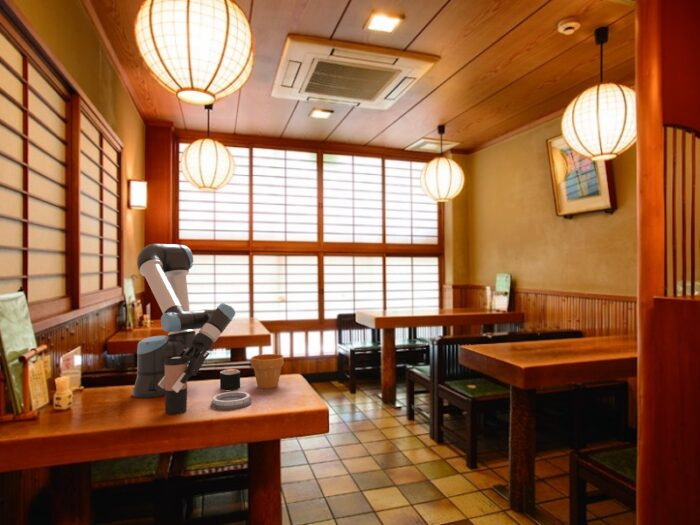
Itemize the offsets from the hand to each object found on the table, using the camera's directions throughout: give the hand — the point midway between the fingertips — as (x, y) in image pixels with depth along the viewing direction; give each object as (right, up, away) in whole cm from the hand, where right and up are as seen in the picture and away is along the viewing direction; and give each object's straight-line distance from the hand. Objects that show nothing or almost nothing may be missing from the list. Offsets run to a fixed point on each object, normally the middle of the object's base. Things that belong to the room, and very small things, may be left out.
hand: (167, 388), depth 154 cm
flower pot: (+29, -10, +37) cm, 48 cm away
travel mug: (+2, -9, +2) cm, 10 cm away
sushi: (+13, -10, +35) cm, 38 cm away
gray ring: (+20, -9, +12) cm, 25 cm away
